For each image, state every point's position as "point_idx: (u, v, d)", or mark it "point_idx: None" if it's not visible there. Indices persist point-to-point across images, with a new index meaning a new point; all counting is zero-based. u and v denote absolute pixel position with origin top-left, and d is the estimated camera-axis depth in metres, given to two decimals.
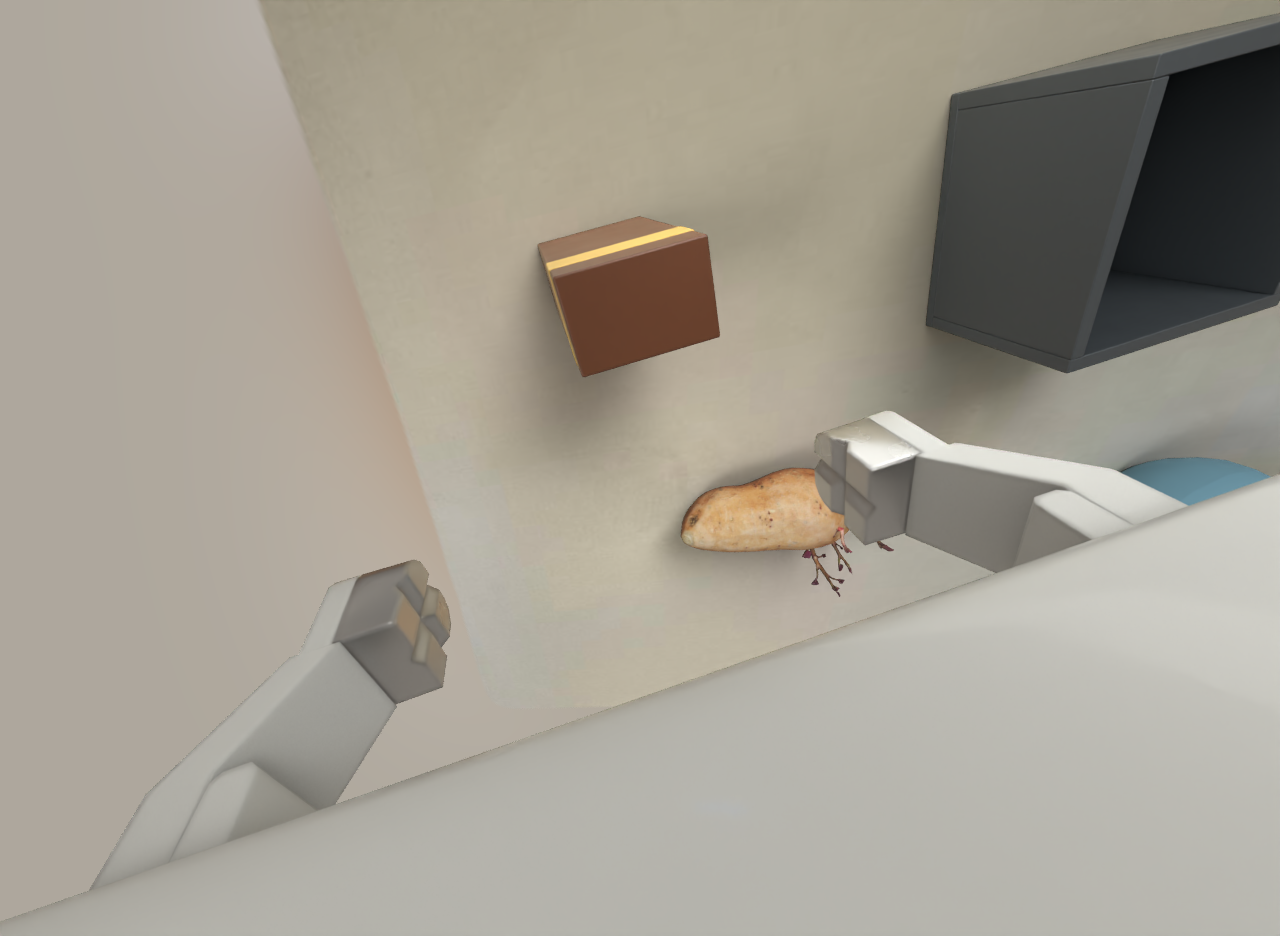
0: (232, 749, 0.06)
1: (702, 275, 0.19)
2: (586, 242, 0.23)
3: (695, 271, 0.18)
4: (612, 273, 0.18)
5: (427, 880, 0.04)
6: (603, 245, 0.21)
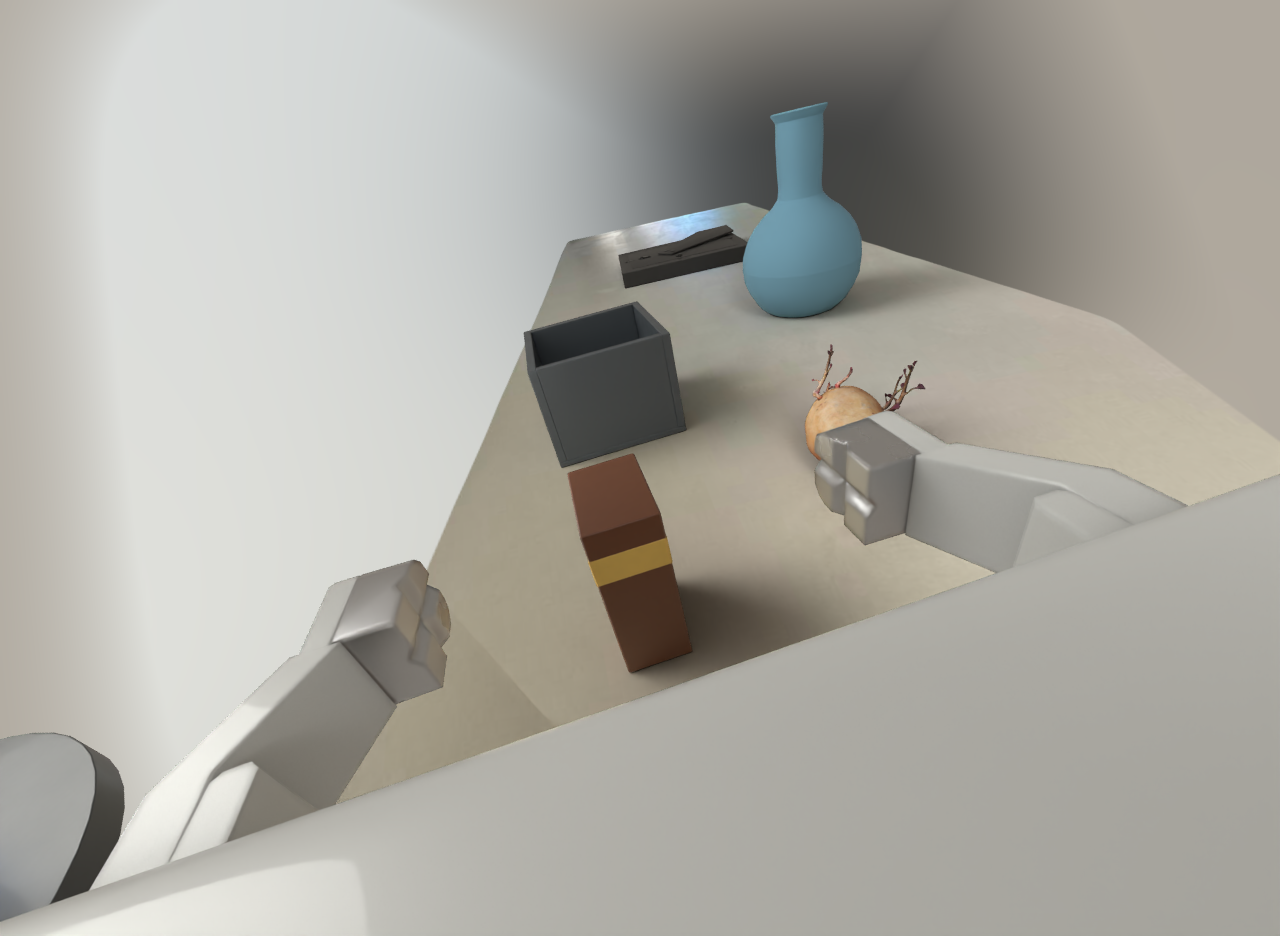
0: (232, 749, 0.06)
1: (591, 469, 0.27)
2: None
3: (588, 472, 0.27)
4: (582, 508, 0.24)
5: (427, 880, 0.04)
6: None
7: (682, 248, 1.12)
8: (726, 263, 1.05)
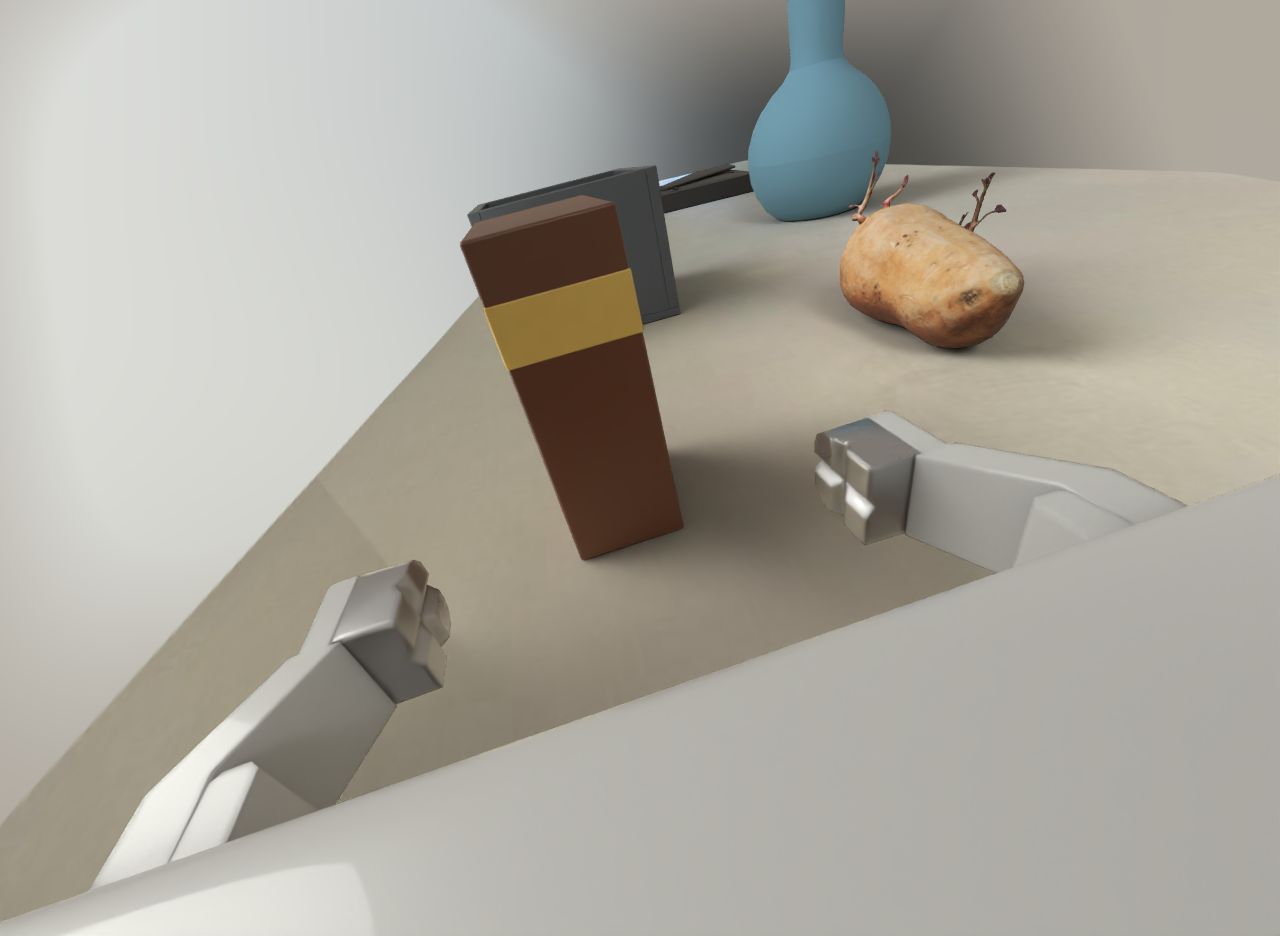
0: (232, 749, 0.06)
1: (512, 213, 0.16)
2: None
3: (506, 215, 0.16)
4: (480, 229, 0.14)
5: (427, 880, 0.04)
6: None
7: (679, 183, 1.01)
8: (728, 195, 0.94)
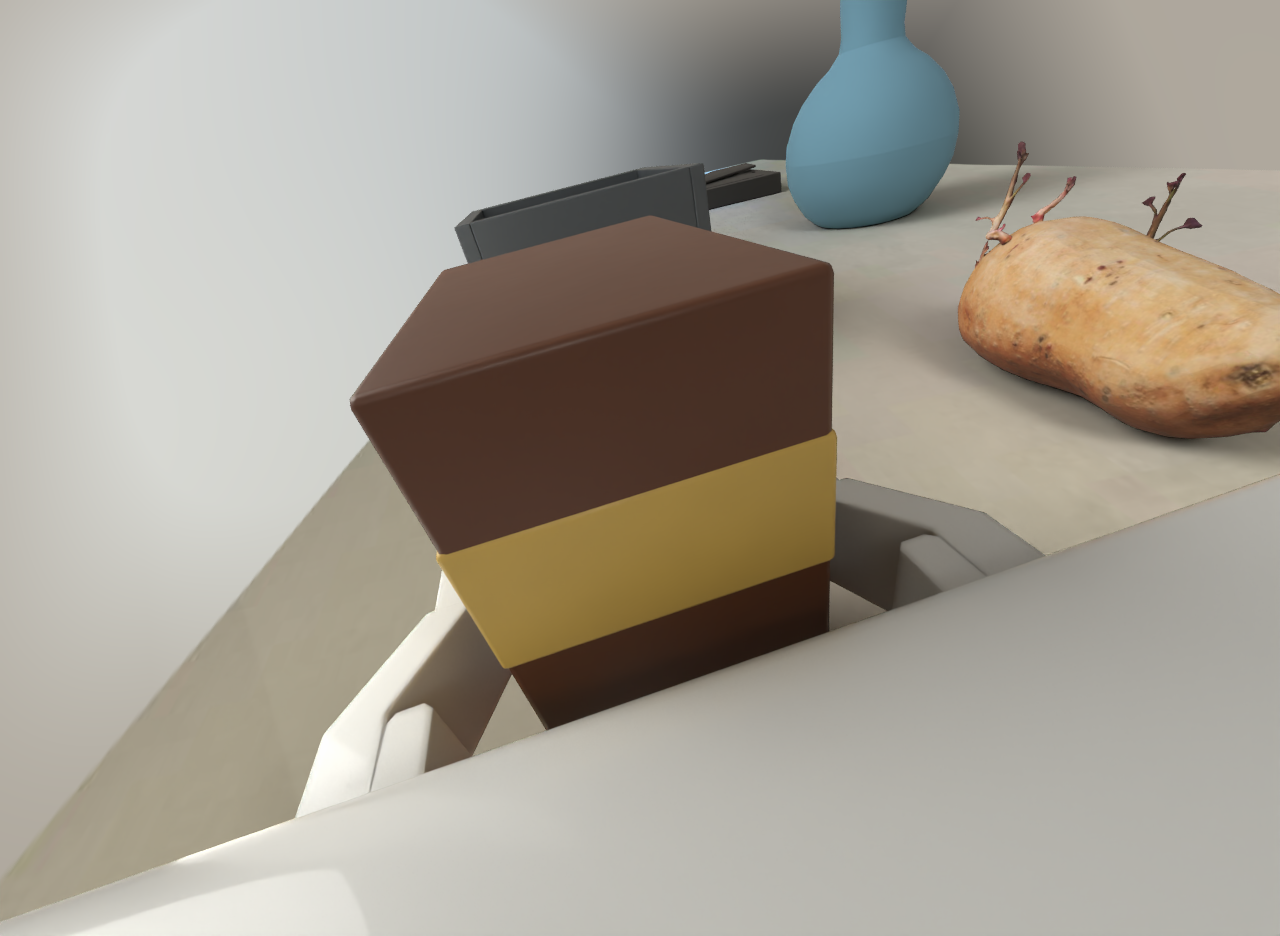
0: (398, 693, 0.06)
1: (516, 253, 0.08)
2: None
3: (503, 258, 0.08)
4: (435, 315, 0.05)
5: (427, 880, 0.04)
6: None
7: None
8: (750, 197, 0.86)
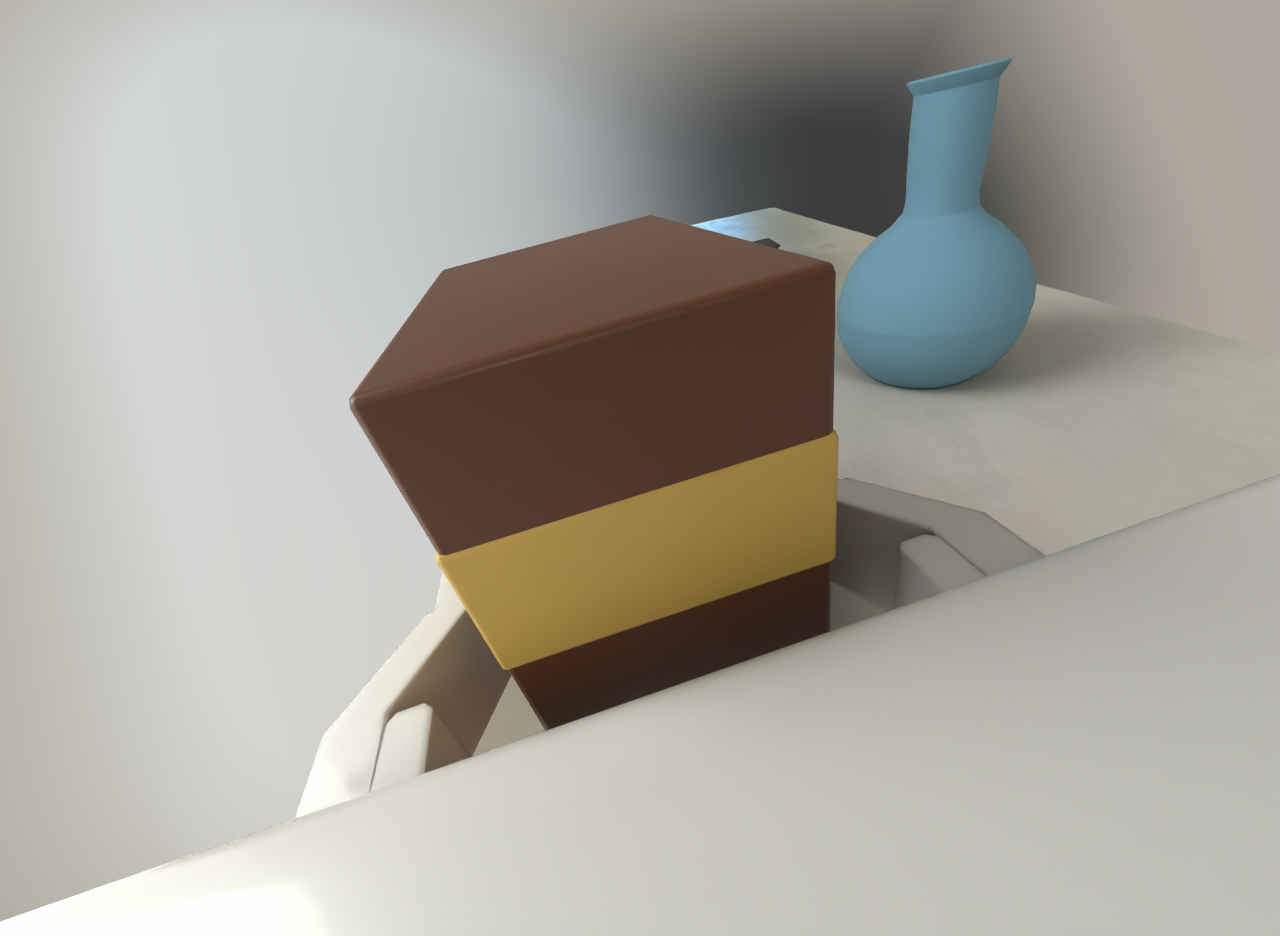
0: (398, 693, 0.06)
1: (516, 253, 0.08)
2: None
3: (503, 258, 0.08)
4: (435, 315, 0.05)
5: (427, 880, 0.04)
6: None
7: None
8: None
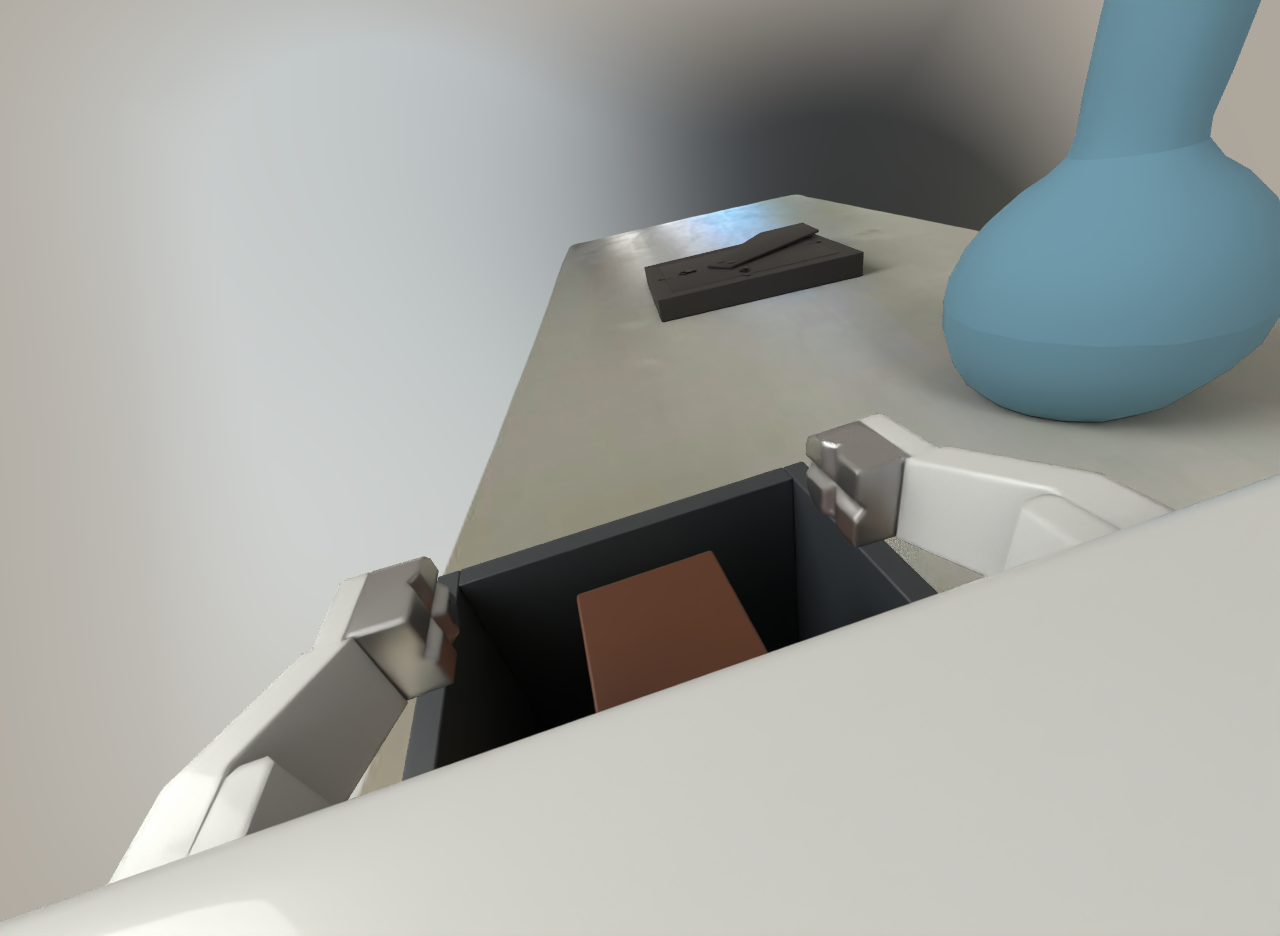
0: (248, 744, 0.06)
1: (626, 588, 0.13)
2: None
3: (620, 598, 0.13)
4: None
5: (427, 880, 0.04)
6: None
7: (746, 258, 0.73)
8: (822, 282, 0.67)
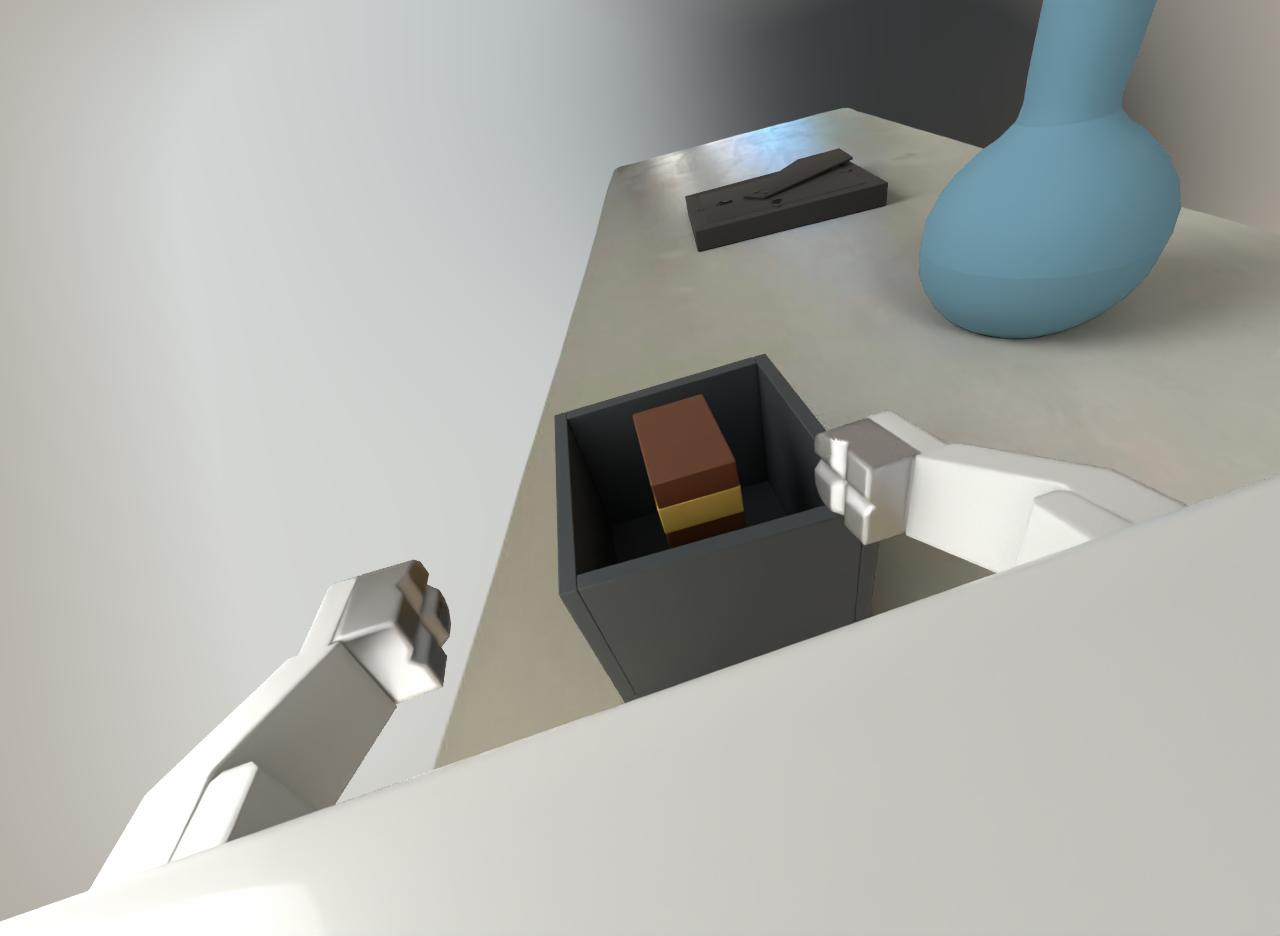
0: (232, 749, 0.06)
1: (657, 410, 0.26)
2: None
3: (654, 414, 0.26)
4: (651, 453, 0.23)
5: (427, 880, 0.04)
6: None
7: (779, 188, 0.79)
8: (847, 212, 0.73)
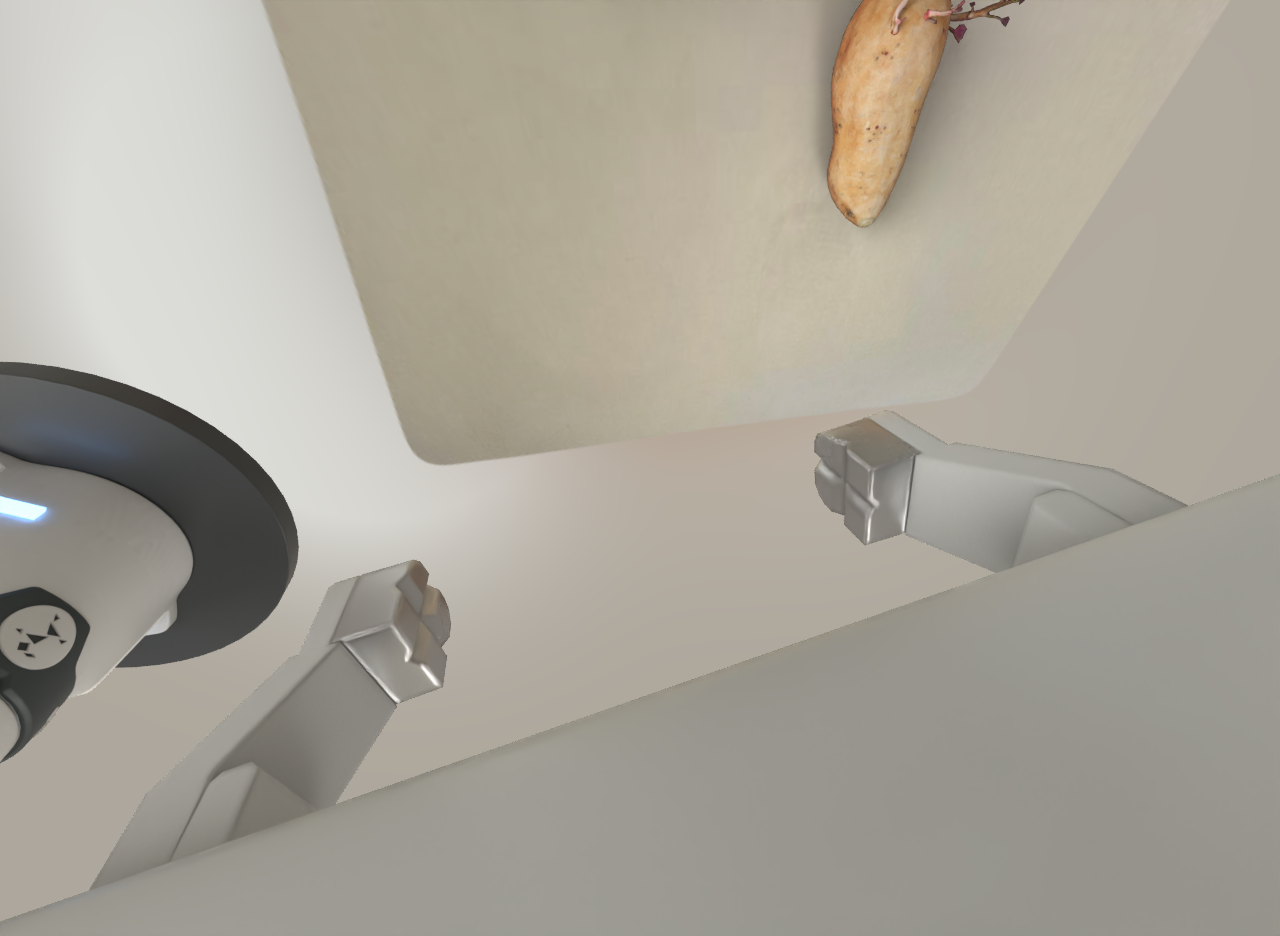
0: (232, 749, 0.06)
1: None
2: None
3: None
4: None
5: (427, 880, 0.04)
6: None
7: None
8: None
